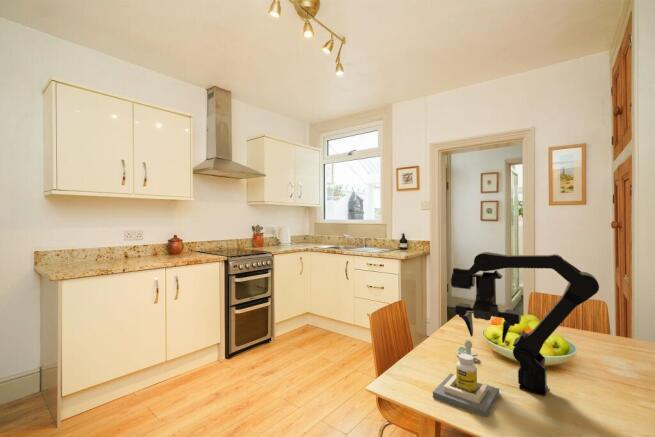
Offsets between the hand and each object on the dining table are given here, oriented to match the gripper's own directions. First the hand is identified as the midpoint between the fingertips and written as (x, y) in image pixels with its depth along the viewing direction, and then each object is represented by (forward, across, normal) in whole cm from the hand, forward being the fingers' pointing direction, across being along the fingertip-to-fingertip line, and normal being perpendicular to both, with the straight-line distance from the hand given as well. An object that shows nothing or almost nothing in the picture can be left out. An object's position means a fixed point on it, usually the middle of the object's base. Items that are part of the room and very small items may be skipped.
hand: (487, 339), depth 100 cm
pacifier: (+12, -9, +10) cm, 19 cm away
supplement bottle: (+11, -3, -16) cm, 19 cm away
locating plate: (+12, -3, -16) cm, 20 cm away
